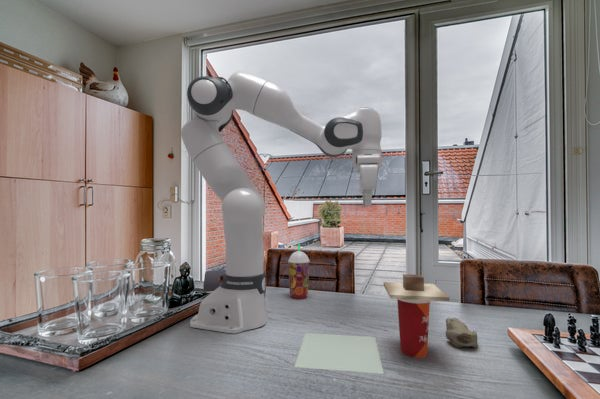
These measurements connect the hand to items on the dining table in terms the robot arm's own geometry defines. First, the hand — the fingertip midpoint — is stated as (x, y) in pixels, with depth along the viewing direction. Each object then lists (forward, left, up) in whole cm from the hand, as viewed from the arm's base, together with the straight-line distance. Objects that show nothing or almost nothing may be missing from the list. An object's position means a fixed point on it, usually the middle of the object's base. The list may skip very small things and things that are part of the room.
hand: (367, 206), depth 96 cm
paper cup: (+9, -22, -34) cm, 42 cm away
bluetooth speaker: (-48, +18, -34) cm, 62 cm away
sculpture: (+22, -11, -34) cm, 42 cm away
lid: (+9, -22, -20) cm, 31 cm away
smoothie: (-24, +20, -34) cm, 46 cm away
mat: (-8, -24, -34) cm, 42 cm away
